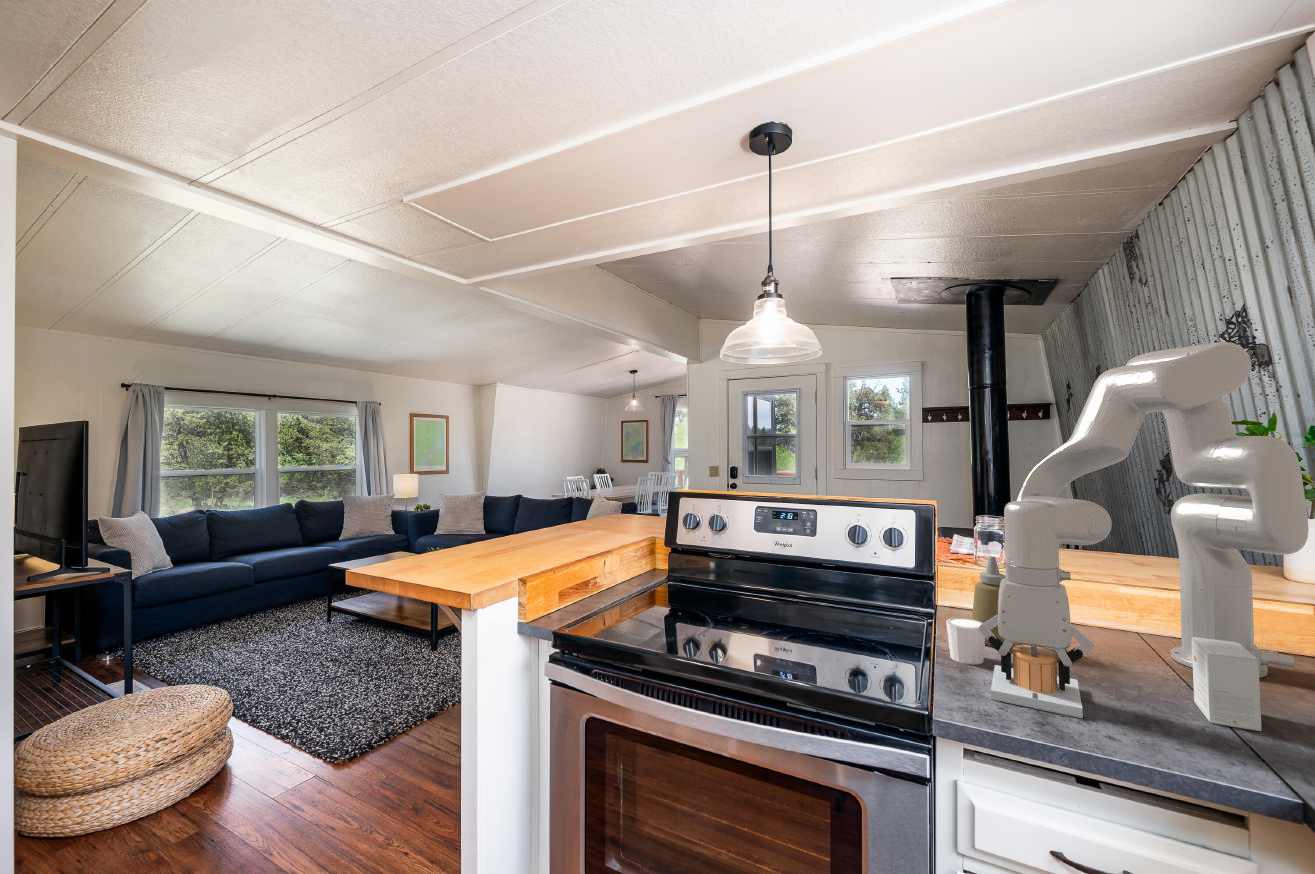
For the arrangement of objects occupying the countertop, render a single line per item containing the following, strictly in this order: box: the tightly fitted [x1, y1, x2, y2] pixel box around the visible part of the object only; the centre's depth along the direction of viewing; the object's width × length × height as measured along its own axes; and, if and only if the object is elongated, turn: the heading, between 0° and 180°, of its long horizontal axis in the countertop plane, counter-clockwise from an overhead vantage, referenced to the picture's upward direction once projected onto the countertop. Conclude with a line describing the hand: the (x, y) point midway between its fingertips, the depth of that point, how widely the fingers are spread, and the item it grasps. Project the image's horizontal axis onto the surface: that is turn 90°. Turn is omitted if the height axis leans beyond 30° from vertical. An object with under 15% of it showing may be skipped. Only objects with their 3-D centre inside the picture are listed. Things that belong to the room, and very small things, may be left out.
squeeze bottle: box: [971, 555, 1006, 647], centre depth 116 cm, size 8×8×18 cm
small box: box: [1192, 637, 1263, 732], centre depth 84 cm, size 8×6×10 cm
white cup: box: [945, 617, 986, 665], centre depth 108 cm, size 7×7×7 cm
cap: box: [1012, 644, 1058, 693], centre depth 93 cm, size 6×6×6 cm
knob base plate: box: [990, 664, 1084, 719], centre depth 93 cm, size 12×12×6 cm
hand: (1034, 681), depth 93 cm, fingers open, 6 cm apart
